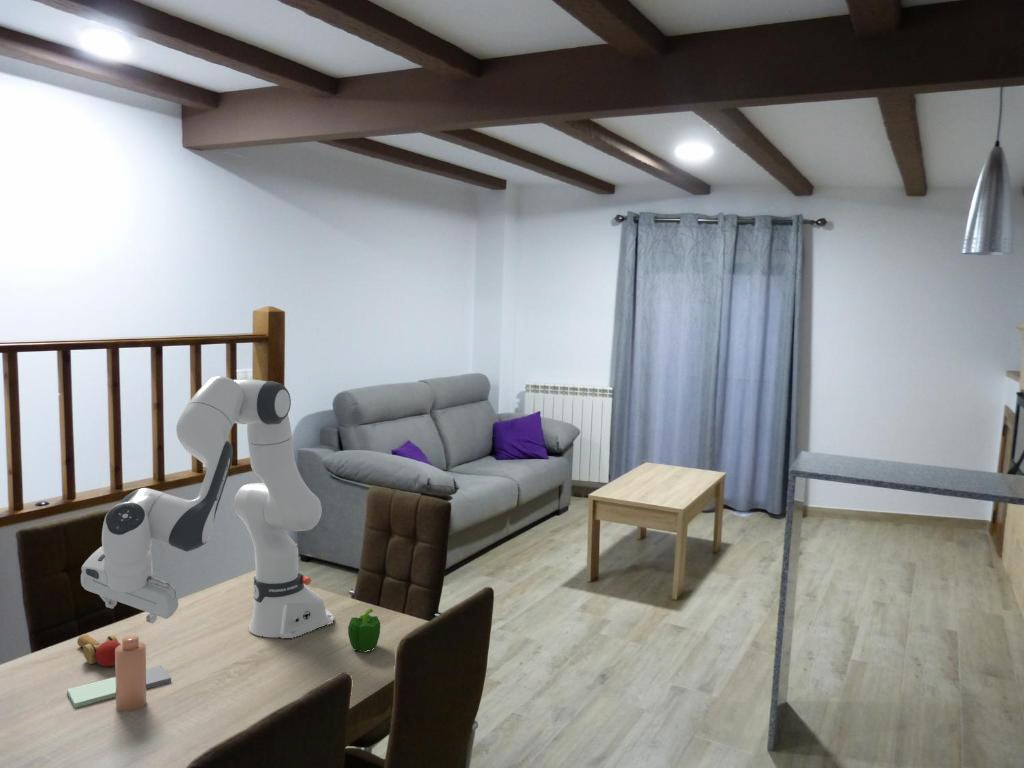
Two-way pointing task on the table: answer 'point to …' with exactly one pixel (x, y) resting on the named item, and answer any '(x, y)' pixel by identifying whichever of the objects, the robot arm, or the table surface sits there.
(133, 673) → the bottle
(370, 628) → the bell pepper
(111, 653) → the kendama
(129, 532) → the robot arm
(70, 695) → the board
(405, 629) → the table surface
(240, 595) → the table surface
